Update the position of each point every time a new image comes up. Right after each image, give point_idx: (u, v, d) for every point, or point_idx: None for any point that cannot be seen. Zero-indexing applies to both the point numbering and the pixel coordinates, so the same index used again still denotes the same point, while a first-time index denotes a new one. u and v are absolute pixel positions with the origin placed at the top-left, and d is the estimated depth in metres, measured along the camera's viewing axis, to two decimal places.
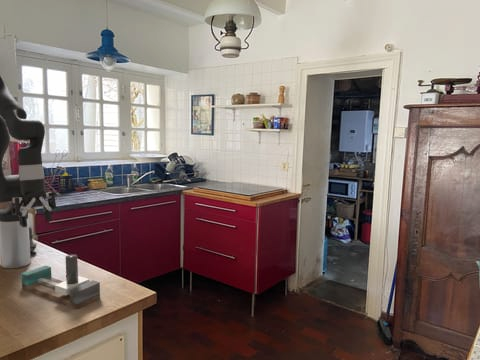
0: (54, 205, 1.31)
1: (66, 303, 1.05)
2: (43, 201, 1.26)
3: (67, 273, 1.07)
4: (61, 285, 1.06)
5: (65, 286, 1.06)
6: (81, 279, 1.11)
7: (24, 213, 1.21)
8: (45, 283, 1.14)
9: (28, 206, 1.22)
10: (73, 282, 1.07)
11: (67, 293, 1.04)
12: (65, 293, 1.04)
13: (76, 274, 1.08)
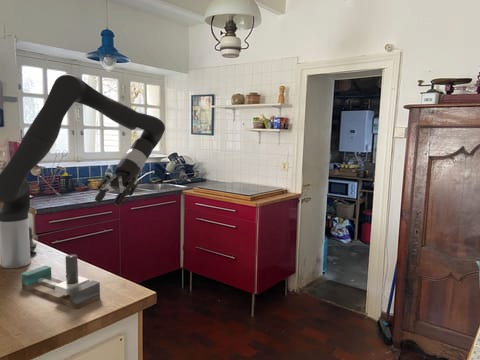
0: None
1: (66, 303, 1.05)
2: None
3: (67, 273, 1.07)
4: (61, 285, 1.06)
5: (65, 286, 1.06)
6: (81, 279, 1.11)
7: None
8: (45, 283, 1.14)
9: None
10: (73, 282, 1.07)
11: (67, 293, 1.04)
12: (65, 293, 1.04)
13: (76, 274, 1.08)
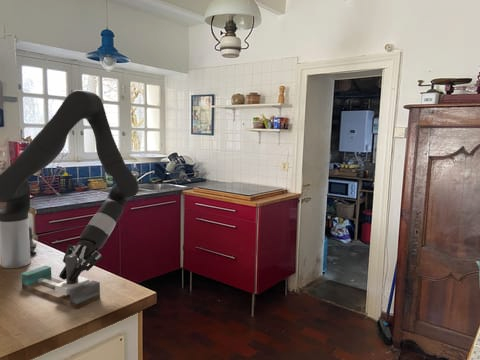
0: None
1: (66, 303, 1.05)
2: None
3: (67, 273, 1.07)
4: (61, 285, 1.06)
5: (65, 286, 1.06)
6: (81, 279, 1.11)
7: None
8: (45, 283, 1.14)
9: None
10: (73, 282, 1.07)
11: (67, 293, 1.04)
12: (65, 293, 1.04)
13: None
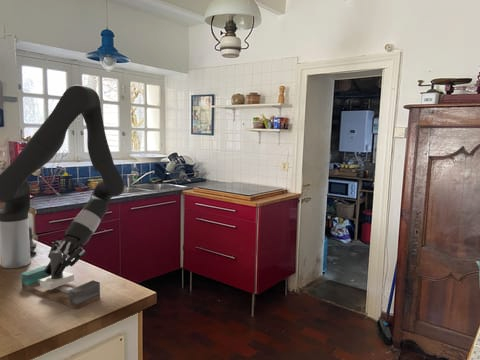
0: None
1: (66, 303, 1.05)
2: None
3: (52, 268, 1.10)
4: (45, 280, 1.09)
5: (49, 280, 1.09)
6: (66, 274, 1.14)
7: None
8: None
9: None
10: (57, 277, 1.11)
11: (51, 287, 1.08)
12: (49, 287, 1.08)
13: None
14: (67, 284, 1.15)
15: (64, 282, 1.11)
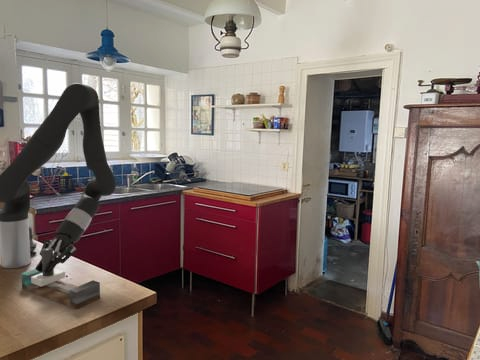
0: None
1: (66, 303, 1.05)
2: None
3: (43, 265, 1.12)
4: (37, 277, 1.11)
5: (40, 277, 1.11)
6: (57, 271, 1.16)
7: None
8: None
9: None
10: (49, 274, 1.13)
11: (42, 284, 1.10)
12: (40, 284, 1.10)
13: None
14: (67, 284, 1.15)
15: (55, 279, 1.13)
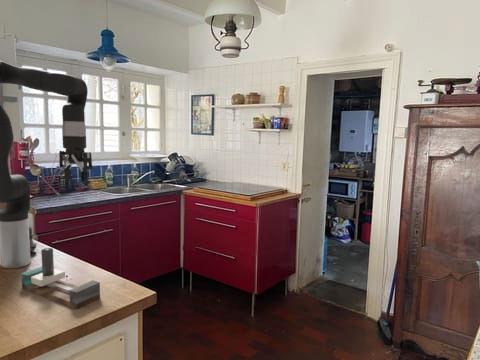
0: None
1: (66, 303, 1.05)
2: None
3: (43, 265, 1.12)
4: (37, 277, 1.11)
5: (40, 277, 1.11)
6: (57, 271, 1.16)
7: None
8: None
9: None
10: (49, 274, 1.13)
11: (42, 284, 1.10)
12: (40, 284, 1.10)
13: (51, 266, 1.13)
14: (67, 284, 1.15)
15: (55, 279, 1.13)
